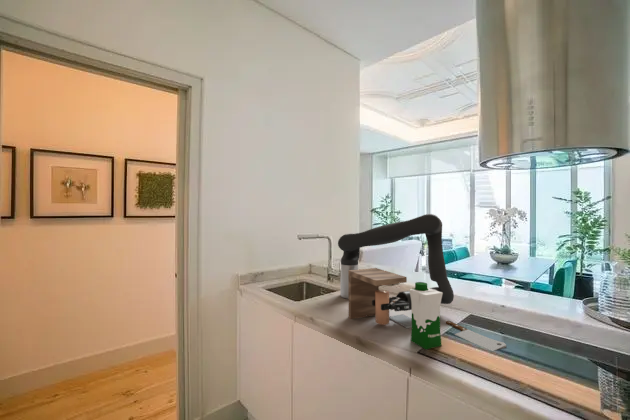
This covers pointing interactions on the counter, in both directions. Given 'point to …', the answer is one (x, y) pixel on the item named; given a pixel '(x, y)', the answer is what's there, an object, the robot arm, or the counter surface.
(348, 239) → the robot arm
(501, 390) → the counter surface
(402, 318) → the slate mat
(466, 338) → the kitchen cleaver
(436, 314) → the milk carton
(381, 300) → the peach cylinder
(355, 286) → the walnut shelf
